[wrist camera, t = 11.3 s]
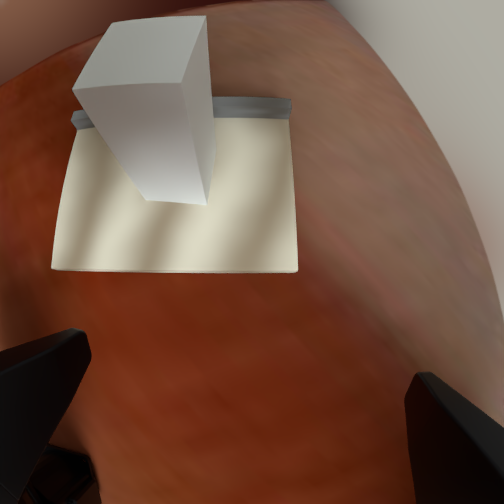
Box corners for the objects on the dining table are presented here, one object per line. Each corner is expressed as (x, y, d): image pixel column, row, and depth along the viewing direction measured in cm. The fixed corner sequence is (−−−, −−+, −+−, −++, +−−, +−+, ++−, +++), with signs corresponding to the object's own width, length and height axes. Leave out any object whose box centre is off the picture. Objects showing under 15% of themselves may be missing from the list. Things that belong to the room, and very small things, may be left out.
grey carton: (207, 205, 21) (181, 83, 9) (145, 200, 20) (71, 89, 9) (217, 146, 22) (207, 12, 10) (159, 142, 22) (114, 19, 10)
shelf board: (57, 270, 20) (40, 264, 18) (85, 124, 23) (74, 108, 20) (295, 272, 21) (302, 266, 19) (285, 114, 24) (290, 96, 21)
